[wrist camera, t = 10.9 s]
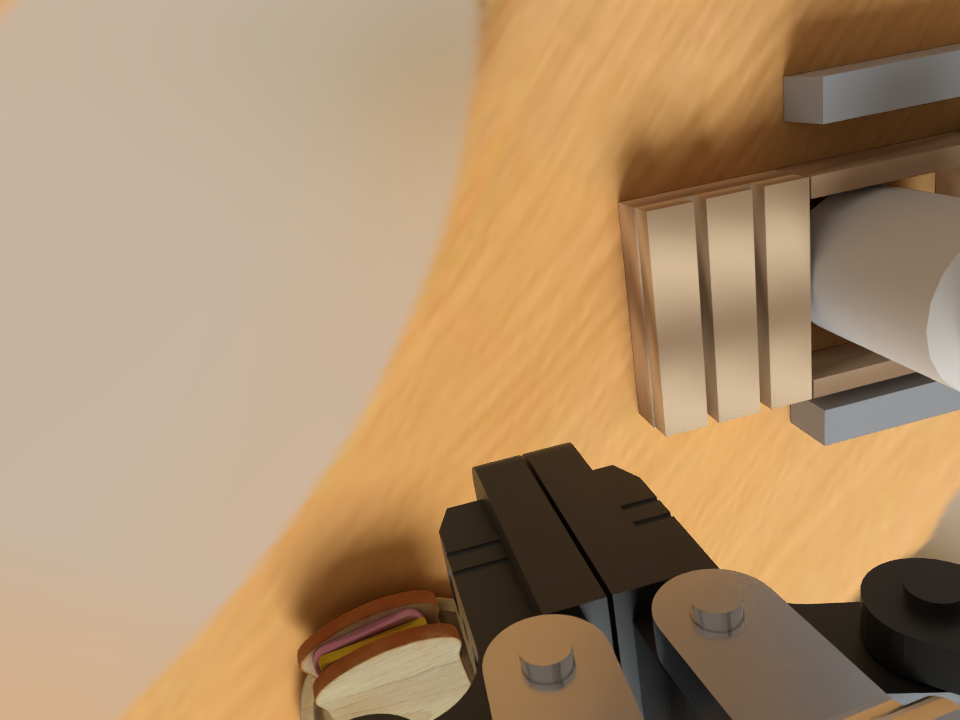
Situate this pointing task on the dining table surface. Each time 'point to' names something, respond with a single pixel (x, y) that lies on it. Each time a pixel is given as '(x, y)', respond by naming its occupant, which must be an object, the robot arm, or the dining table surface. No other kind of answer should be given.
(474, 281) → the dining table surface
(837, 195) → the can
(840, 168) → the pallet
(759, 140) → the dining table surface
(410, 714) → the toy sandwich meal
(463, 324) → the dining table surface
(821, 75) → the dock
